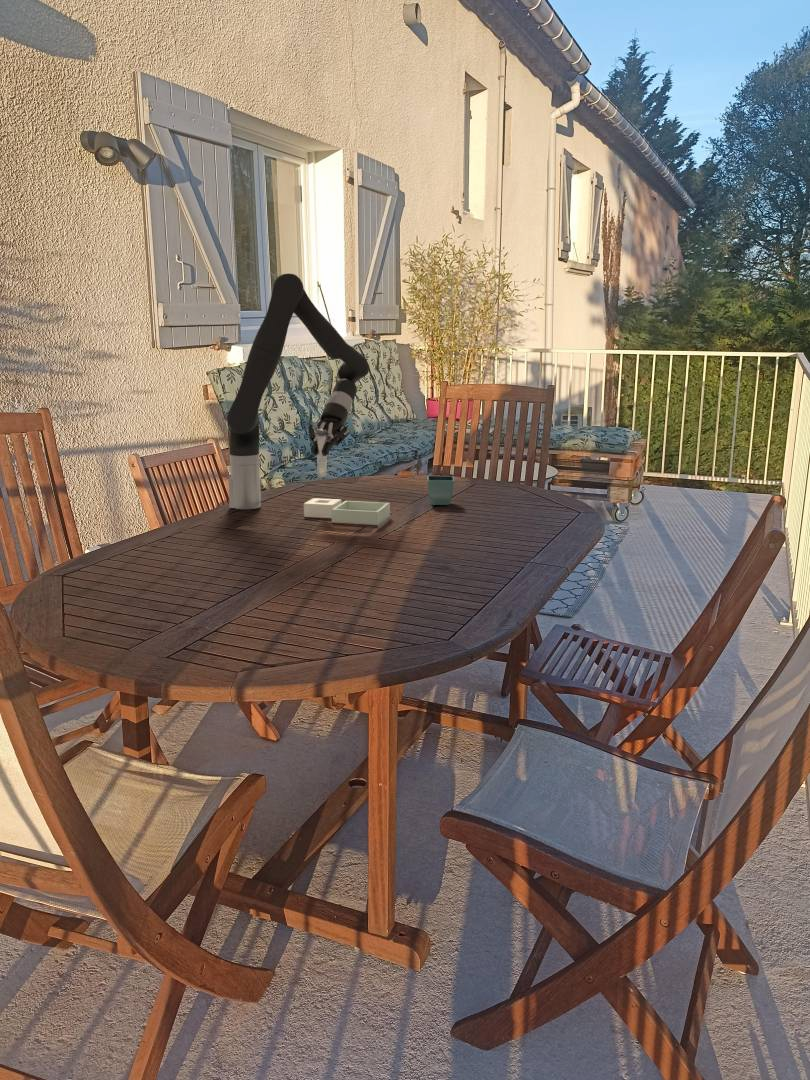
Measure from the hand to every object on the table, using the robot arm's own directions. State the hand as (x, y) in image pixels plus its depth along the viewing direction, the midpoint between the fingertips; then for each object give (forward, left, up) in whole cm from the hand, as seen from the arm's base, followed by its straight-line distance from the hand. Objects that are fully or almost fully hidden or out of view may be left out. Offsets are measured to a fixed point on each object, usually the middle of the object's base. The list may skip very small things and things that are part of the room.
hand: (318, 453), depth 250 cm
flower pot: (+31, +31, -20) cm, 48 cm away
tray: (+13, -1, -20) cm, 24 cm away
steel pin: (0, +2, -7) cm, 7 cm away
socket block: (0, +2, -20) cm, 20 cm away
